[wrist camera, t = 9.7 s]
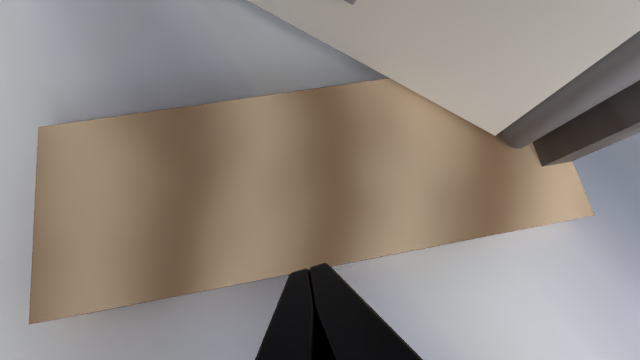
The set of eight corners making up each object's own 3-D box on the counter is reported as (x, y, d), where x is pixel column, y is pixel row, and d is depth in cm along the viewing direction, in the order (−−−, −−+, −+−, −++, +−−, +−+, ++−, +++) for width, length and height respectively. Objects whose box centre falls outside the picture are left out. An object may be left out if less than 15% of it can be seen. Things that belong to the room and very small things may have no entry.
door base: (53, 320, 13) (-620, 441, 4) (58, 138, 15) (-355, -92, 6) (572, 219, 15) (1018, 127, 6) (514, 72, 18) (770, -173, 8)
